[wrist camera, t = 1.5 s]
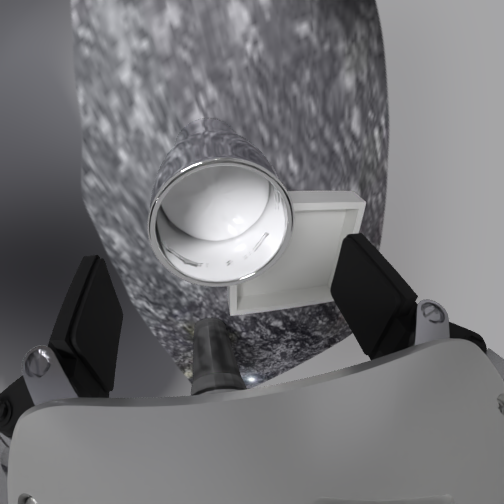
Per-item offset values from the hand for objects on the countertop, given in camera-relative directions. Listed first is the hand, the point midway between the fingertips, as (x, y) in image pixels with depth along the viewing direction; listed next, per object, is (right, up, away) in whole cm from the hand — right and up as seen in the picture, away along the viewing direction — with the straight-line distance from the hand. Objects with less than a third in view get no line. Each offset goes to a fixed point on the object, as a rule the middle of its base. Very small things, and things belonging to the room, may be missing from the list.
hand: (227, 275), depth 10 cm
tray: (+5, +1, +22) cm, 23 cm away
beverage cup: (-5, -10, +28) cm, 30 cm away
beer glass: (-3, +10, +14) cm, 18 cm away
